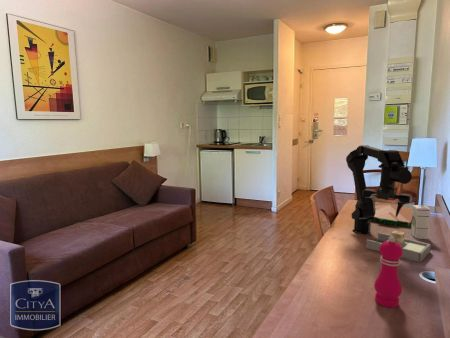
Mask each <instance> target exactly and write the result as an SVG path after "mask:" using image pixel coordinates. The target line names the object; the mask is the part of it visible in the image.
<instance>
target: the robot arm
mask: <svg viewBox="0 0 450 338" xmlns="http://www.w3.org/2000/svg"><path fill="white" fill-rule="evenodd" d="M369 157H371V158H374V159H377V161H378V162H379V163H380V164H379V165H378V168H379V169H380V181H379V186H378V187H377V189H376V190H375V188H374V189H372V188H367V184H366V179H365V174H364V168H365V166H366V161H367V160H368V159H369ZM345 160H346V165H347V167H348V169H349V170H350V171H351V172H352V176H353V177H352V178H353V181H354V183H353V184H354V188H355V192H356V198H357V200H356V203H355V206H354V207H355V210H354V211H352V213H351V219H352V220H354V226H353V229H352V232H354V233H359V234H363V235H367V234H369V233H370V232H371V228H372V227H371V226H372V223H371V221H374V219H375V217H374V216H375V210H376V209H375V206H376V199H377V200H378V199H379V200H380V199H381V200H384V201H388V200H390V199H395V200H399V201H398V202H397V205H396V206H397V211H396V217H397V216H398V214H399V212H400V210H401V208H402V206H404V205H407V204H410V203H411V202H412V201H413V195H412V194H411V193H404V192H402V193H400V194H396V193H397V192H396V187H395V186H396V183H399V184H403V185H406V184H409V183H410V182H411V181H412V177H413V175H412V173H411V171H410V170H409V167H408V166H406V165H405V163H404V161H403V159H402V155H401V154H400V151H398V150H396V149H395V150H384V149H380V148H377V147H373V146H369V145H364V144H363V145H358V146H357V147H356V148H355V149H354V150H352V151H350V152H349V153H348V155H347V156H346V158H345Z"/></svg>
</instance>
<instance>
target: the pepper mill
mask: <svg viewBox="0 0 450 338" xmlns="http://www.w3.org/2000/svg"><path fill="white" fill-rule="evenodd" d="M388 240H389V241H385V242H383V243H382V244H381V245H380V248H379V251H378V252H379V253H380V255H381V256H380V263H381V269H380V271H379V274H378V275H377V277H376V279H375V280H374V285H373V288H374V290H375V296H374V300H375V302H376V303H377V304H378V305H380V306H383V307H386V308H397V307H398V306H399V305H400V304H399V302H400V298H399V297H400V296H401V295H402V293H403V287H402V284H401V281H400V279H399V274H398V268H399V266H400V265H401V263H400V261H401V258H402V257H401V256H402V254H403V250H402V247H401V246H400V245H399V244H398V243H396V242H395V238H394V237H392V236H391V237H389V238H388Z"/></svg>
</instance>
